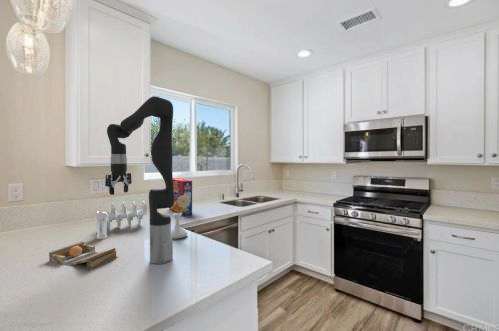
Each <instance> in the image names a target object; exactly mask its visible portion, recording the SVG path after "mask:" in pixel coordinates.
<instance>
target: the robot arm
mask: <svg viewBox="0 0 499 331" xmlns="http://www.w3.org/2000/svg"><path fill="white" fill-rule="evenodd" d="M149 117H154V118H158V119H159V128H158V132H157V134H156V135H155V137H154V139H153V140H152V141H153V142H151V143H152V144H151V147H150V148H151V153H150V154H151V156H150V157H151V162H152V164H153V165H154V167H155V168H156V170H157V171H158V172H159V174H160V176H161V177H162V179H163V181H164V184H165V188H151V189H150V190H149V192H148V205H149V206H148V208H149V263H151V264H153V265H155V264H156V265H160V264H162V265H163V264H167V263H168V262H170V261H171V260H173V257H174V256H173V255H174V253H173V252H174V251H173V250H174V249H173V248H174V246H173V244H174V242H173V239H174V238H171V230H172V229H171V228H172V218H171V216H170V215H168V214H165V213H161V212H159V211H158V210H162V209H169V208H171V207H173V205H174V187H173V178H174V177H173V175H174V174H173V123H174V122H173V121H174V106H173V103H172V101H171V100H169V99H165V98H163V97H160V96H157V95H156V96H155V95H153V96H150V97H149V98H148V99H146V100H145V101H144V102H143V104H142V105H141V106H139V107H138V108H137V109H136V111H135V112H133V113H132V114H130V115H129V116H128V117H126V118H124V119H123V120H121V122H120V124H118V123H110V124H109V125H108V126H107V129H106V133H107V138H108V140H109V144H110V172H111V174H105V182H104V183H105V184H104V186H105V187H107V188H108V191H109V195H111V196H114V195H115V185H116V184H118V183H122V184H123V192H124V193H128V192H129V185H131V184H132V182H133V181H132V173H131V172H127V171H128V157H127V144H126V143H124V142H122V141H120V140H119V139H126V138H129V137H130V135H132V133H133V132H135V131H137V130H138V129H139V128H141V127H142V126H143V124H144V121H145V119H146V118H149Z"/></svg>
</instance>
